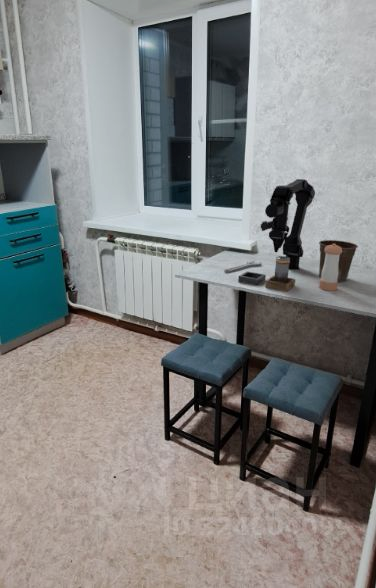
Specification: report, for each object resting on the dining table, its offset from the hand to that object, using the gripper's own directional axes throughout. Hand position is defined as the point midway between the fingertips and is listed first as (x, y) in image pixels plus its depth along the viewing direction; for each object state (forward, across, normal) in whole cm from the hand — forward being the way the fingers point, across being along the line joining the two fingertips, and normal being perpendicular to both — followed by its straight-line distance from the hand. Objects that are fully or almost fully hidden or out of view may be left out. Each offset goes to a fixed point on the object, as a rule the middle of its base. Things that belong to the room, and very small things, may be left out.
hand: (277, 250), depth 181 cm
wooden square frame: (+12, +15, +5) cm, 20 cm away
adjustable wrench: (+13, -7, -18) cm, 23 cm away
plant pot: (+12, -7, +25) cm, 29 cm away
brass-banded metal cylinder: (+12, +15, +5) cm, 20 cm away
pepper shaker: (+12, +9, +24) cm, 28 cm away
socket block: (+12, +12, -8) cm, 19 cm away
